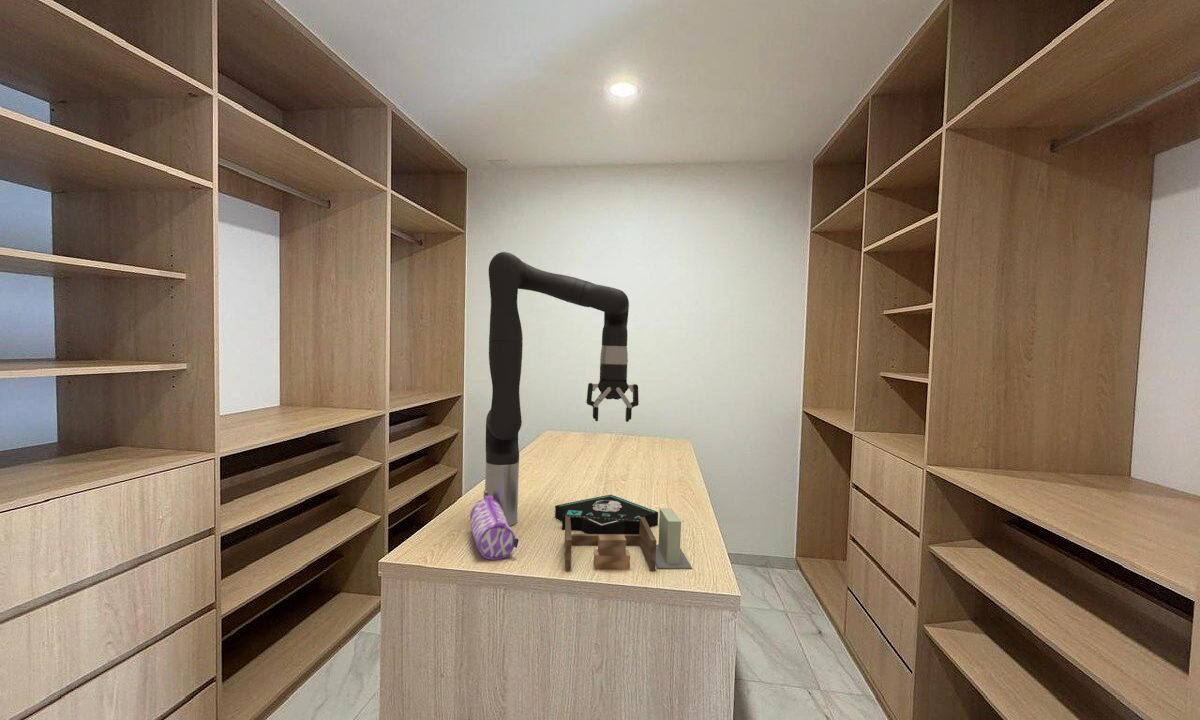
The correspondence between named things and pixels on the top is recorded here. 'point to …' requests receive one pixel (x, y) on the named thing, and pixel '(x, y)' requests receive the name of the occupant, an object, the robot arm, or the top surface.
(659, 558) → the felt pad
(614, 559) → the block
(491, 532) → the pencil case
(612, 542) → the upper offcut
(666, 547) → the green board
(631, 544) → the rack
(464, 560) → the top surface
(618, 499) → the wall plaque
